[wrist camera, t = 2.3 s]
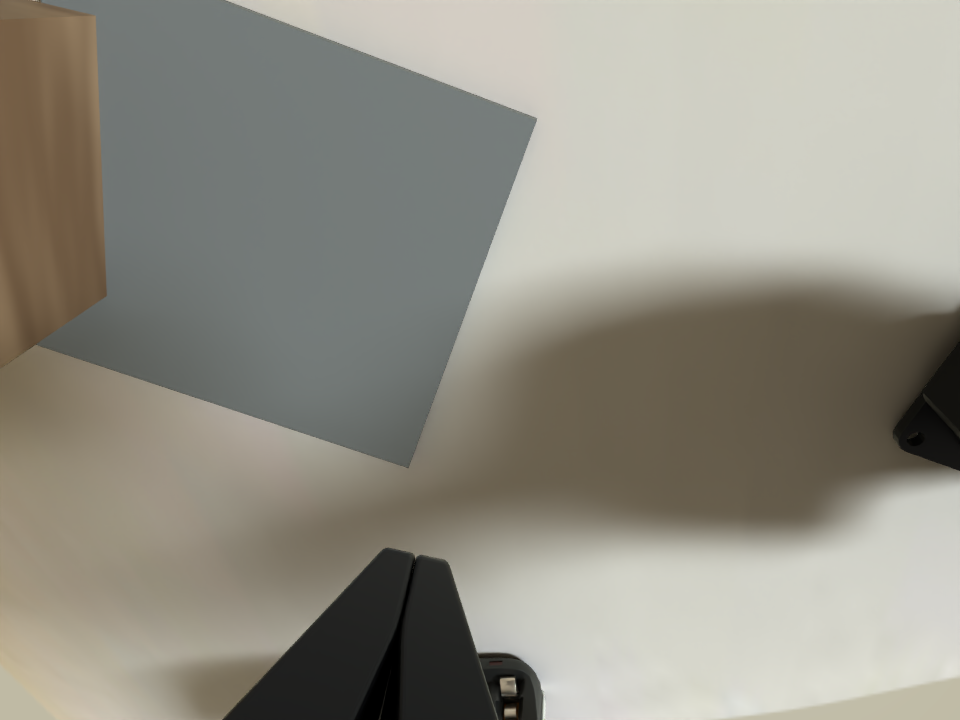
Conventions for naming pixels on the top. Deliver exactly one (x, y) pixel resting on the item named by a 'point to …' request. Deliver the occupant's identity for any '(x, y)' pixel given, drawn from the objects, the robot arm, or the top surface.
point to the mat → (286, 219)
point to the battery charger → (513, 689)
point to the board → (48, 172)
